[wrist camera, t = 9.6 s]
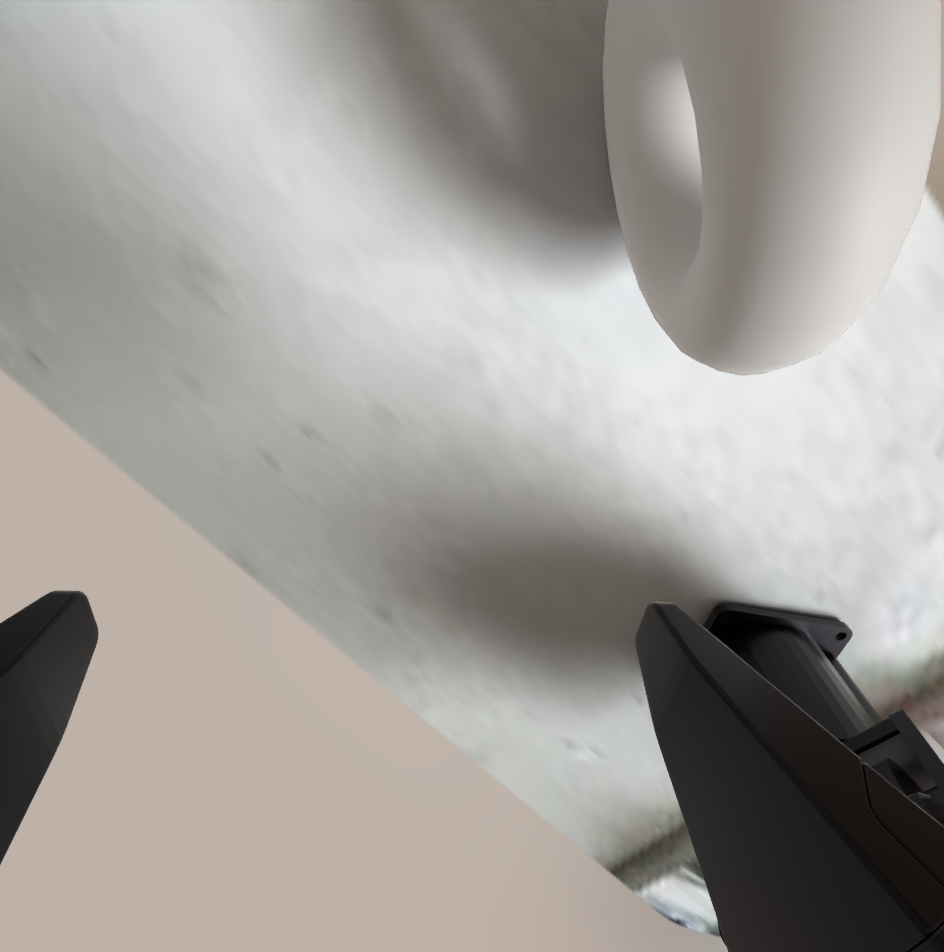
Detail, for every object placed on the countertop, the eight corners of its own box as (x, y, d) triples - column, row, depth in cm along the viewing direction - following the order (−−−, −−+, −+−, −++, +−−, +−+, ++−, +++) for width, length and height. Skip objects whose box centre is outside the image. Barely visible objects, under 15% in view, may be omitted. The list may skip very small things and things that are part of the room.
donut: (725, 301, 19) (953, 425, 10) (622, 329, 19) (754, 472, 11) (703, -98, 14) (1095, -509, 5) (566, -49, 15) (723, -358, 6)
